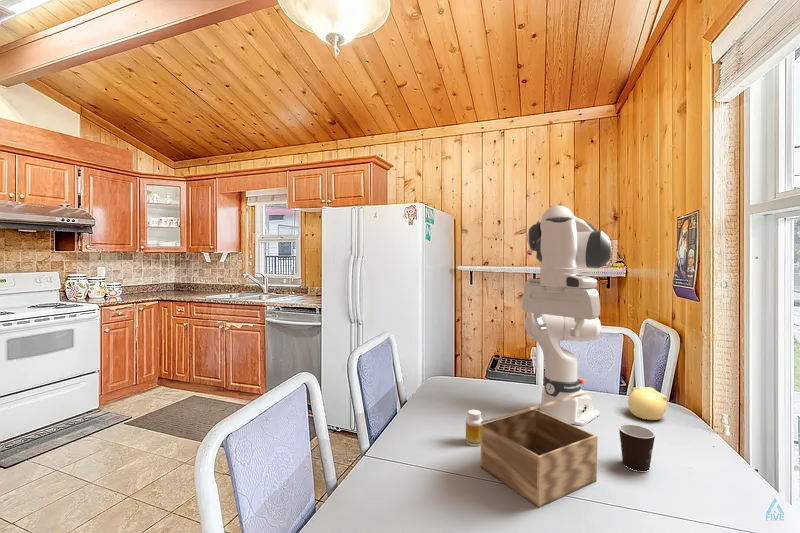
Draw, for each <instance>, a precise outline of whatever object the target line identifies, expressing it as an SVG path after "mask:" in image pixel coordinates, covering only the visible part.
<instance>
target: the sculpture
mask: <svg viewBox="0 0 800 533" xmlns="http://www.w3.org/2000/svg"><path fill="white" fill-rule="evenodd" d="M667 404H668V397H667V396H666V395H665V394H663V393H661V392H659V391H657V390H656V389H655V388H653V387H649V386H648V387H647V386H646V387H644V386H643V387H642V386H637V387H636V386H635V387H632V392H630V393H629V395H628V398H627V406H628V408H629V411H630V412H631V415H633V416H635V417H637V418H638V419H641V418H642V419H641V420H646V419H647V421H657V420H660V419H662V418H663V417H664V415H665V413H666V410H667V407H668V405H667Z"/></svg>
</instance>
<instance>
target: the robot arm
mask: <svg viewBox="0 0 800 533" xmlns="http://www.w3.org/2000/svg"><path fill="white" fill-rule="evenodd" d="M526 241H527V244H528V246H529V249H530V250H531V251H534V252H536V254H535V255H536V256H535V258H536V260H538V261H539V263H540V267H539V271H540V272H539V278H528V279H527V280H526V281H525V282H524V284H523V292H522V298H521V299H522V300H521V309H522V310H523V312H525V313H527V315H526V316H525V319H524V329H525V331H526V333H527V334H528V336H530V337H531V338H532V339H533V340H535V342H536V343H537V344H538V345H539V347H540V348H541V351H542V352H543V358H544V375H543V379H542V381H543V387H542V391H541V398H540V404H539V405H541V404H545V403H549V402H552V401H556V400H560V399H563V398H567V397H571V396H574V395H578V394H582V393H585V392H586V391H584V390H583V389H582V388H581V385H582V386H584V385H585V384H586V380H585V379H584V378H581V377H578V371H579V370H578V367H579V362H578V357H577V356H576V355H575V354H574V353H573V352H571V351H569V350H568V349H566V348H564V347H562V346H561V345H560V342H562V341H567V342H589V341H596V340H597V338H599V336H600V334H601V330H602V324H601V321H600V319H599V317H600V315H601V300H600V295H599V292H598V290H597V289H595V288H597V286H598V280H597V279H596V278H593V277H590V276H588V275H585V274H582V273H579V272H578V268H589V269H601V267H603V266H605V265H606V264H607V263H608V262H610V259H611V255H612V243H611V240H610V237H609V236H608V235H607V234H606V233H605V232H603V231H602V230H598V229H597V228H596V227H595V226H594V225H593V224H592V223H590V222H588V221H587V220H583V219H582V218H579V217H577V216H575V215H574V213H573V212H572V210H570V209H569V208H568V207H566V206H564V205H561V204H560V205H559V204H558V205H557V204H556V205H552V206H550V207H549V208H548V209H546V210H545V211H544V212H543V214H542V216H541V218H540V221H536V223H535V224H533V225H532V226H530V227H529V228H528V232H527V235H526ZM593 406H594V403H593V399H592V397H591V396H590V394H587V395H584V396H580V397H576V398H573V399H569V400H566V401H562V402H559V403H555V404H551V405H548V406H544V407H541V408H538V410H539V411H541V412H543V413H546V414H548V415H550V416H553V417H555V418H557V419H560V420H562V421H564V422H566V423H569V424H571V425H577V426H585V425H587V424H588V423H590V422H591V421H593V420H595V419H596V418H598V417H599V416H600V415H601V413H600V411H599V410H598V409H596V408H594V407H593ZM597 416H598V417H597Z"/></svg>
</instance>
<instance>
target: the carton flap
mask: <svg viewBox="0 0 800 533" xmlns="http://www.w3.org/2000/svg"><path fill="white" fill-rule="evenodd" d="M584 392H585V393H582V394H578V395H574V396H571V397H567V398H563V399H560V400H556V401H552V402H549V403H545V404H541V403H540V404H541V405H540V404H538V405H535V406H531V407H527V408H524V409H520V410H518V411H514V412H510V413H509V412H508V413H506V414H504V415H499V416H497V417H496V416H495V417H492V418H490V419H489V418H488V419H485V420H483V421H481V424H486V423H489V422H493V421H496V420H500V419H503V418H507V417H511V416H514V415H518V414H521V413H525V412H528V411H532V410H538V409H539V408H541V407H544V406H548V405H551V404H555V403H559V402H562V401H566V400H569V399H573V398H576V397H580V396H584V395H590V394H589V392H588V391H584Z"/></svg>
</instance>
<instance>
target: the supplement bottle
mask: <svg viewBox="0 0 800 533" xmlns="http://www.w3.org/2000/svg"><path fill="white" fill-rule="evenodd" d="M467 415H468V416H467V417H466V418H465V419H466V420H465V442H466V444H467V445H468V446H469V445H470V446H472V447H479V446H480V447H481V425H482V424H481V421H484V420H483V419H482V412H481V411H480V410H478V409H469V410H468V411H467Z"/></svg>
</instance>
